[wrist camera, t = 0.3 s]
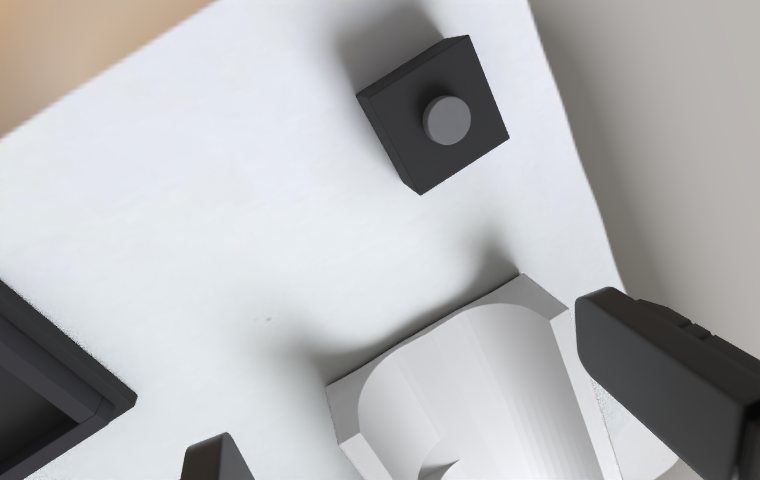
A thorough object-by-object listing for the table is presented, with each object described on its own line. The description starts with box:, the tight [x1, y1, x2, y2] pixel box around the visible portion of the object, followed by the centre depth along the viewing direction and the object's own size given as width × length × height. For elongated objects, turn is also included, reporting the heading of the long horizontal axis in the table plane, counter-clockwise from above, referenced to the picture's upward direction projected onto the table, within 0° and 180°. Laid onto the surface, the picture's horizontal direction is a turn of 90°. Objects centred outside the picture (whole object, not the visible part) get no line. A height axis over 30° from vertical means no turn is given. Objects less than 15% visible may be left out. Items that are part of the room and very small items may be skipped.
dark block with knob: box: [356, 35, 510, 195], centre depth 24 cm, size 6×6×4 cm
